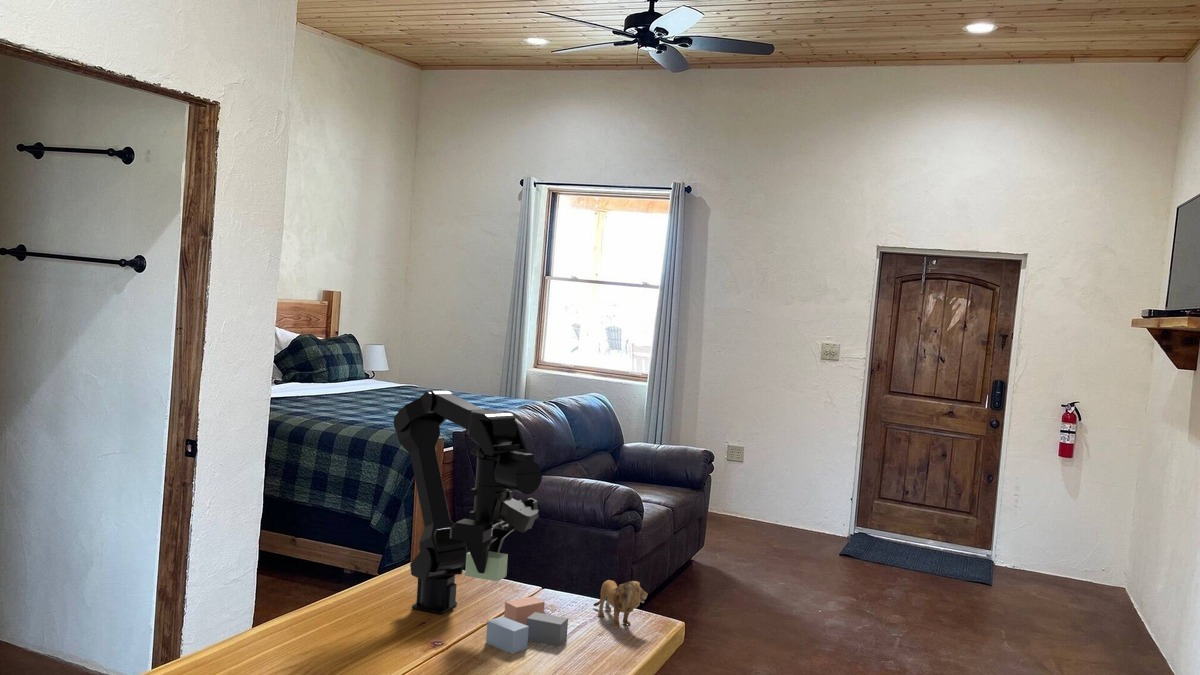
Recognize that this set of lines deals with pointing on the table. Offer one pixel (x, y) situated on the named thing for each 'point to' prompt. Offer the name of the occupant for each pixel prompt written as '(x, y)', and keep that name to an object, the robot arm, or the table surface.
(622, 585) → the lion figurine
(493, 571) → the green brick
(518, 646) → the slate blue brick
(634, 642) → the table surface
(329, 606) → the table surface
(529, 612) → the terracotta brick
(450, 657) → the table surface
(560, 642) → the charcoal brick
